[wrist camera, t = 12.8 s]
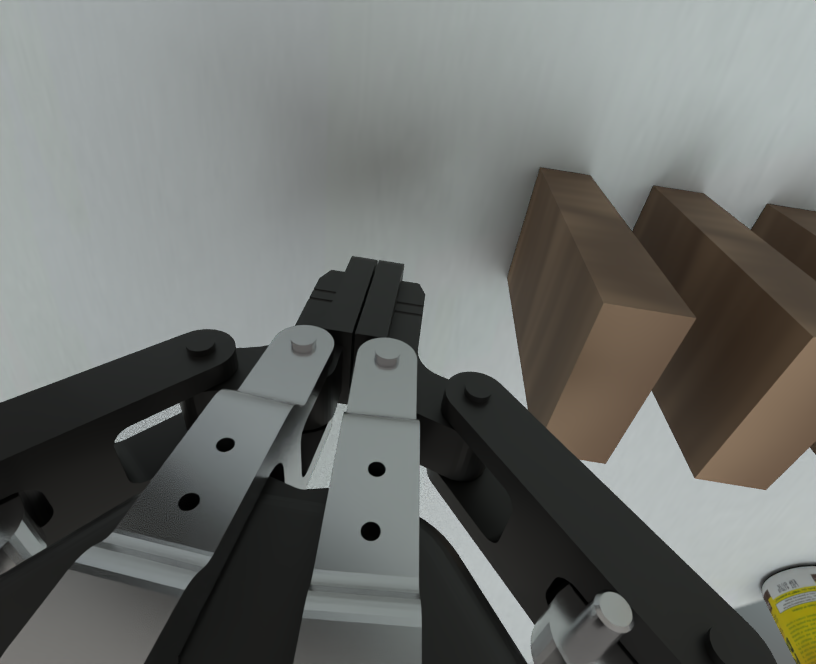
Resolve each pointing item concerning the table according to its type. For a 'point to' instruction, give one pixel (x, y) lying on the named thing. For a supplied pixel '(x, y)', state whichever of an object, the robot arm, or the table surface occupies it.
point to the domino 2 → (733, 342)
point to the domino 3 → (790, 238)
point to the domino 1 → (588, 315)
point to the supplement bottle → (794, 610)
